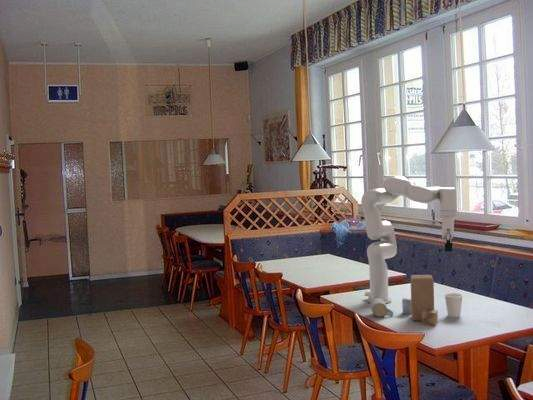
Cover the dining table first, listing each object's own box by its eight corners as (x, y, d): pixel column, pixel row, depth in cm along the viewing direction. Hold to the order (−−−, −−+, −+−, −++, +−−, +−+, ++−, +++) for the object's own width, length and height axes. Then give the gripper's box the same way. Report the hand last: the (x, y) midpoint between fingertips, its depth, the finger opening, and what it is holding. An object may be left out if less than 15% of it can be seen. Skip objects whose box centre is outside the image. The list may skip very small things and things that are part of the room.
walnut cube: (421, 325, 271) (421, 312, 270) (424, 321, 276) (423, 309, 276) (435, 326, 268) (435, 313, 268) (437, 322, 274) (437, 309, 273)
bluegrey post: (400, 313, 293) (400, 299, 292) (406, 311, 296) (405, 297, 296) (409, 315, 289) (409, 300, 289) (415, 312, 293) (414, 298, 292)
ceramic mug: (372, 317, 286) (372, 302, 286) (370, 313, 295) (370, 298, 294) (394, 317, 286) (394, 301, 285) (392, 313, 294) (391, 297, 294)
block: (434, 321, 275) (433, 278, 274) (412, 321, 277) (411, 278, 276) (433, 316, 285) (432, 274, 284) (411, 315, 287) (410, 274, 286)
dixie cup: (441, 315, 287) (440, 294, 286) (455, 312, 290) (454, 292, 289) (453, 319, 279) (452, 297, 278) (467, 316, 282) (466, 295, 282)
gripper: (440, 212, 293) (441, 247, 294) (439, 215, 276) (439, 252, 277) (456, 212, 290) (457, 247, 292) (456, 215, 274) (456, 252, 275)
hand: (448, 249), depth 285 cm, fingers open, 9 cm apart
